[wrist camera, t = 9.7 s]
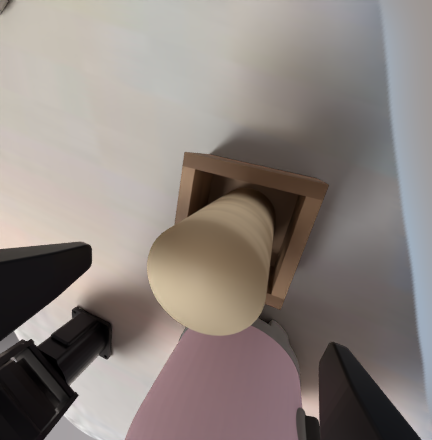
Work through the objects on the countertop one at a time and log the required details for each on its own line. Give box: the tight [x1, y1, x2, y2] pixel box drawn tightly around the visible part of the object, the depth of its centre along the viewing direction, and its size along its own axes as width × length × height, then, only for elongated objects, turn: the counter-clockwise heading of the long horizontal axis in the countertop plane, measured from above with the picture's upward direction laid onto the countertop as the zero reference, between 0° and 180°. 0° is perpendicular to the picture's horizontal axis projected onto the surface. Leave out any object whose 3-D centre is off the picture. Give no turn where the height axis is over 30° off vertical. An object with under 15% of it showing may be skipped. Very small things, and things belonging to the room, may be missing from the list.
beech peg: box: [147, 188, 275, 336], centre depth 13 cm, size 5×5×10 cm
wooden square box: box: [175, 152, 329, 310], centre depth 16 cm, size 9×9×5 cm
